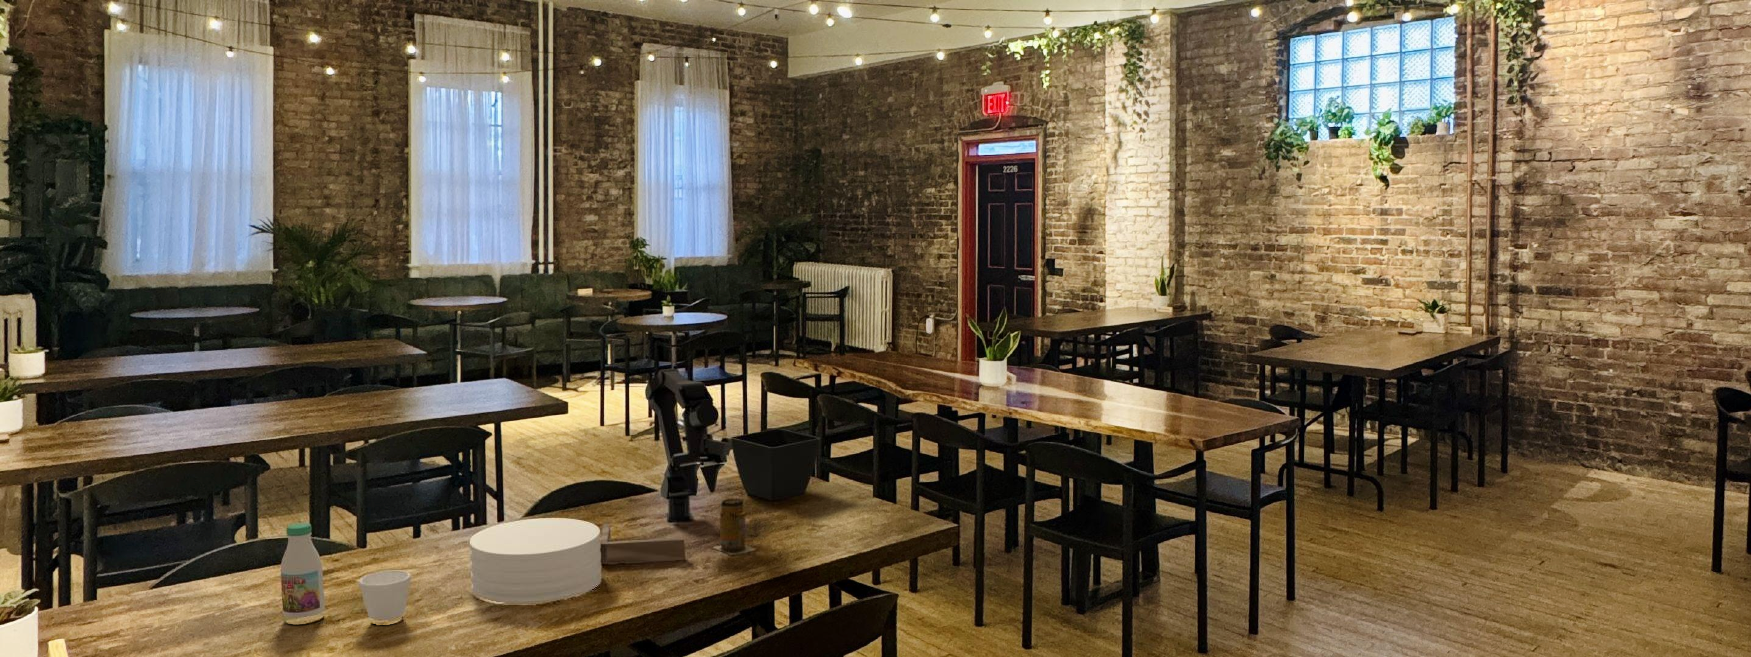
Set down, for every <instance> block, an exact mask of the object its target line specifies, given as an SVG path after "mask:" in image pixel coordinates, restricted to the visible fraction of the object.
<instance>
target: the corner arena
mask: <svg viewBox="0 0 1751 657" xmlns="http://www.w3.org/2000/svg"><path fill="white" fill-rule="evenodd" d="M600 543H601V548H600V552H601V560H600V562H601V564H609V565H619V564H618V563H626V564H640V563H641V564H643V563H661V562H674V561H675V562H676V560H679V561H685V538H684V537H677V538H676V537H674V538H673V537H672V538H657V539H656V538H655V539H654V538H653V539H640V540H621V541H620V540H619V541H618V540H617V541H611V524H610V523H603V527H602V532H601V535H600Z"/></svg>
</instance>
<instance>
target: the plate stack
mask: <svg viewBox="0 0 1751 657" xmlns="http://www.w3.org/2000/svg"><path fill="white" fill-rule="evenodd" d="M600 542H601V530H600V527H599V526H598V525H596V524H595V523H591V522H590V521H586V520H582V519H574V518H565V517H563V518H561V517H543V518H529V519H521V520H514V521H509V522H504V523H500V524H496V525H493V526H489V527H487V528H484V529H482V530H480V531H477V532H476V533H475V534H474V535H472V537H470V539H469V549H470V552H469V558H470V559H469V560H470V572H471V574H470V579H471V580H470V581H471V592H472V591H473V592H474V593H475V594H476V595H478V596H480V597H482V598H484V599H488V600H491V601H496V602H505V603H509V604H534V603H541V602H551V601H556V600H560V599H566V598H570V597H573V596H576V595H581V594H582V593H586V592H588V591H590V590H592V589H594V588H595V587H597V586H598V585H599V584H600V585H601V583H602V581H601V579H602V576H603V575H602V565H601V552H600V548H601V543H600ZM600 582H601V583H600ZM600 585H599V586H600ZM599 586H598V587H599ZM598 587H597V588H598ZM595 589H596V588H595ZM595 589H594V590H595ZM592 591H593V590H592Z"/></svg>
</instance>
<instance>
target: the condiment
mask: <svg viewBox="0 0 1751 657" xmlns="http://www.w3.org/2000/svg"><path fill="white" fill-rule="evenodd" d="M719 517H720V520H719V522H720V524H719V525H720V526H719V527H720V533H719V534H720V545H715V546H713V547H712V548H713V549H716V550H717V551H720V552H724V553H725V554H728V555H730V556H731V555H739V554H745V553H748V552H753V551H757V549H756V548H754V547H751V546H748V545H746V512H745V510H744V501H743V499H740V498H726V499H723V500H722V501H721V511H720V516H719Z"/></svg>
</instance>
